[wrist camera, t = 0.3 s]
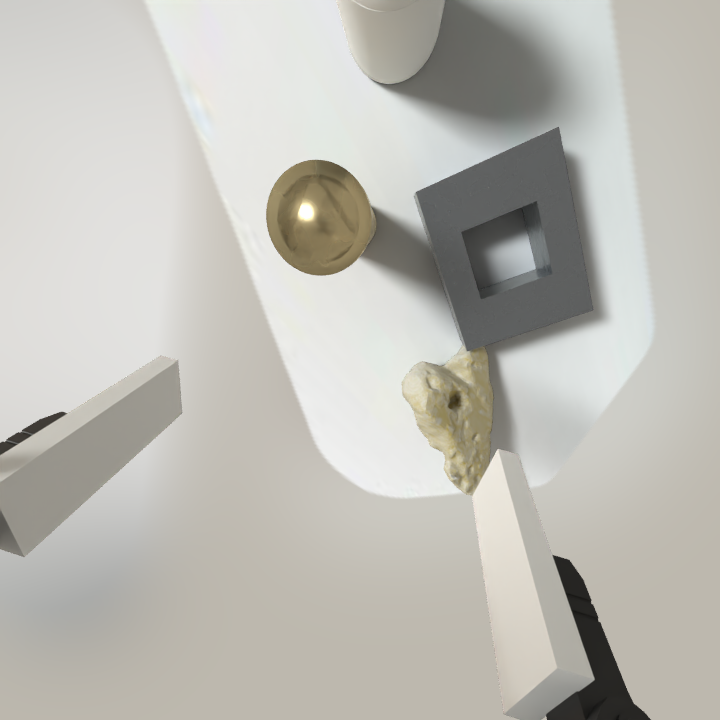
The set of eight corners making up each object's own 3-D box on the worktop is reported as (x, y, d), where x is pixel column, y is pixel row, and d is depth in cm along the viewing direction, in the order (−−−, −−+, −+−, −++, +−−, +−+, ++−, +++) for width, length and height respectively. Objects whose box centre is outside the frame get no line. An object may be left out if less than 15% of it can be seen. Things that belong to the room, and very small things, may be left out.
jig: (413, 196, 33) (415, 192, 30) (539, 139, 30) (558, 126, 27) (460, 339, 38) (467, 351, 34) (572, 301, 35) (593, 310, 31)
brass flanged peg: (326, 185, 34) (269, 151, 19) (388, 196, 33) (380, 170, 19) (319, 251, 36) (263, 265, 21) (377, 261, 36) (361, 283, 21)
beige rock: (410, 321, 40) (354, 435, 35) (458, 313, 34) (398, 450, 29) (480, 384, 47) (440, 487, 42) (531, 388, 41) (491, 508, 36)
